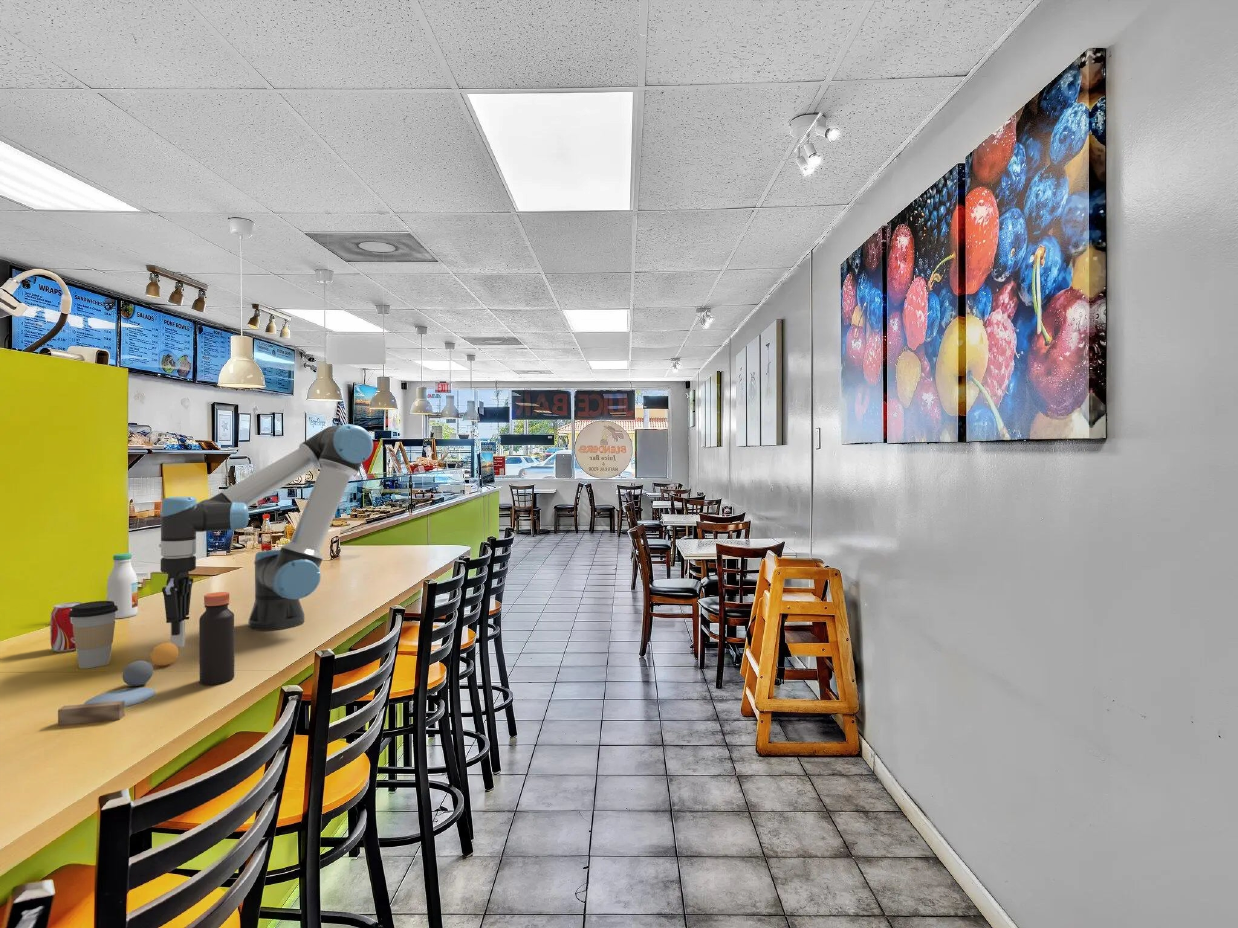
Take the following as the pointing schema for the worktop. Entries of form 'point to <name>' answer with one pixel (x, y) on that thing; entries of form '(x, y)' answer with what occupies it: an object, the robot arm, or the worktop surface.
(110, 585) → the milk bottle
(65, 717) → the brown wooden block
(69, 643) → the soda can
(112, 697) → the mark
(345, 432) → the robot arm
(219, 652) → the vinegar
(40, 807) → the worktop surface
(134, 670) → the ball
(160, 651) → the ball
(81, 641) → the coffee cup
